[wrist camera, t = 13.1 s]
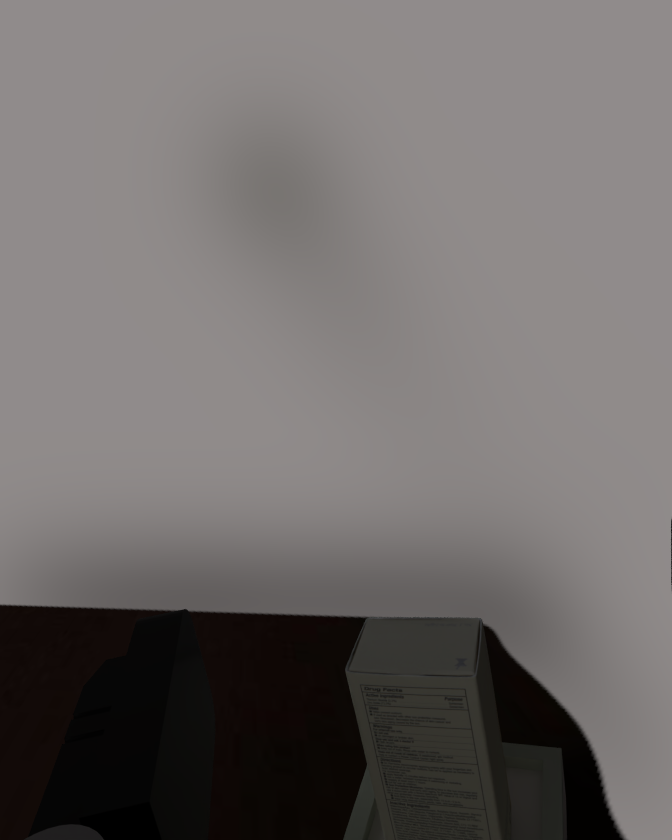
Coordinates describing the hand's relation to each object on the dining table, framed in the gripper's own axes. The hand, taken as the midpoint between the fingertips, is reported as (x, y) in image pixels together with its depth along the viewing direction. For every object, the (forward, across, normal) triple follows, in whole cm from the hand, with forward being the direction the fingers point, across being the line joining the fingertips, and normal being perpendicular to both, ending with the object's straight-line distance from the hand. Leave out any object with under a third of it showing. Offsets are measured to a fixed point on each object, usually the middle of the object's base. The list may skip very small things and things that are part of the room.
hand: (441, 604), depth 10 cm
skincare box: (+17, -2, +26) cm, 31 cm away
